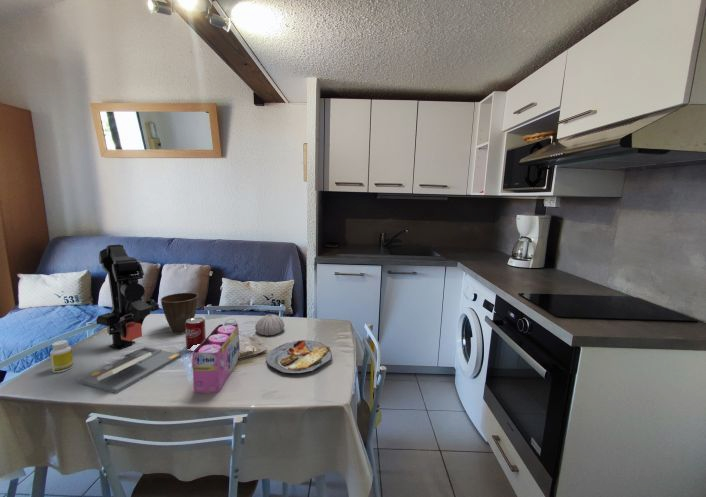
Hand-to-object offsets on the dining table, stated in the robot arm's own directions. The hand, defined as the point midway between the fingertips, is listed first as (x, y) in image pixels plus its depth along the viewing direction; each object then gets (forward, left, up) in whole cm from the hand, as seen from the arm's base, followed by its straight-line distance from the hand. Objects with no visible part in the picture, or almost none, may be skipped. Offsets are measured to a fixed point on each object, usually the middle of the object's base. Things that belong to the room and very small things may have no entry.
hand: (131, 334), depth 111 cm
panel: (+5, -4, -10) cm, 12 cm away
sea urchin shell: (+32, +41, -11) cm, 53 cm away
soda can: (+13, +16, -11) cm, 24 cm away
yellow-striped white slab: (+8, -9, -6) cm, 13 cm away
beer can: (+27, +20, -11) cm, 36 cm away
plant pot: (-7, +28, -11) cm, 31 cm away
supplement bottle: (-18, -12, -11) cm, 24 cm away
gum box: (+35, +4, -11) cm, 37 cm away
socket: (+1, +3, -9) cm, 10 cm away
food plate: (+57, +22, -11) cm, 62 cm away
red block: (0, 0, -1) cm, 1 cm away
